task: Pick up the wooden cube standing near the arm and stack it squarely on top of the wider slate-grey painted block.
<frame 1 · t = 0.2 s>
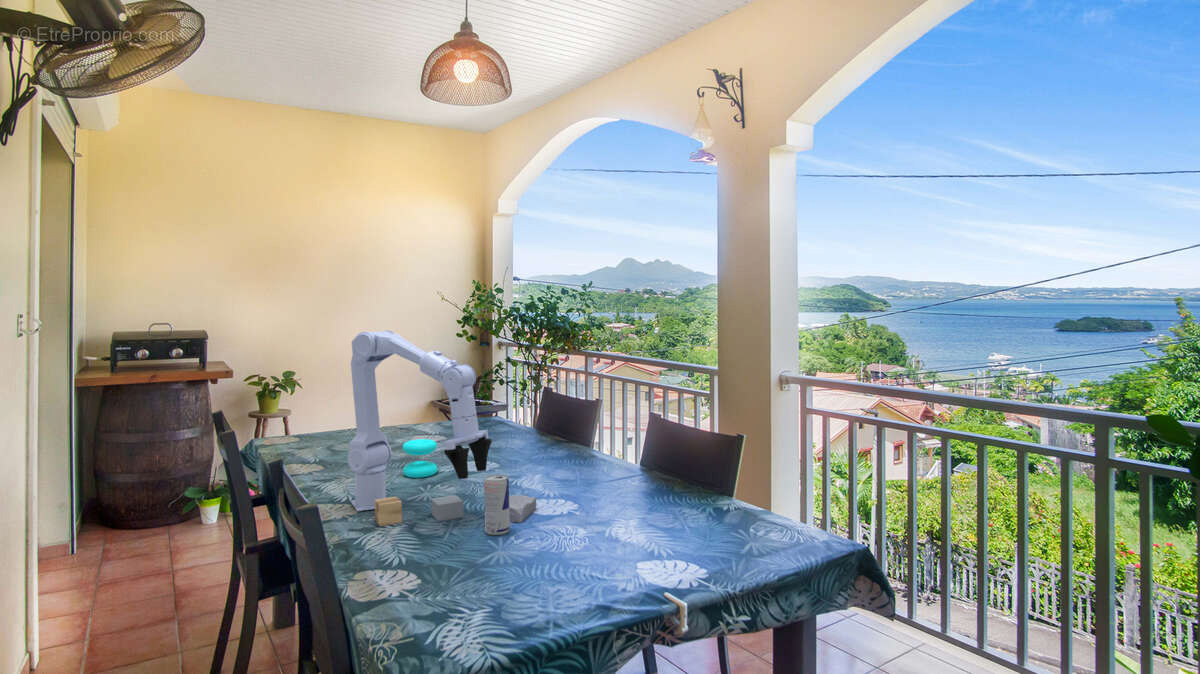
hand: (472, 474, 149), 11 cm above the table, tool pointing down, fingers open, 7 cm apart
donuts: (420, 475, 192), on the table
wooden cube: (388, 521, 148), on the table
stone block: (510, 516, 153), on the table
grey block: (447, 516, 152), on the table
energy drink: (497, 532, 141), on the table
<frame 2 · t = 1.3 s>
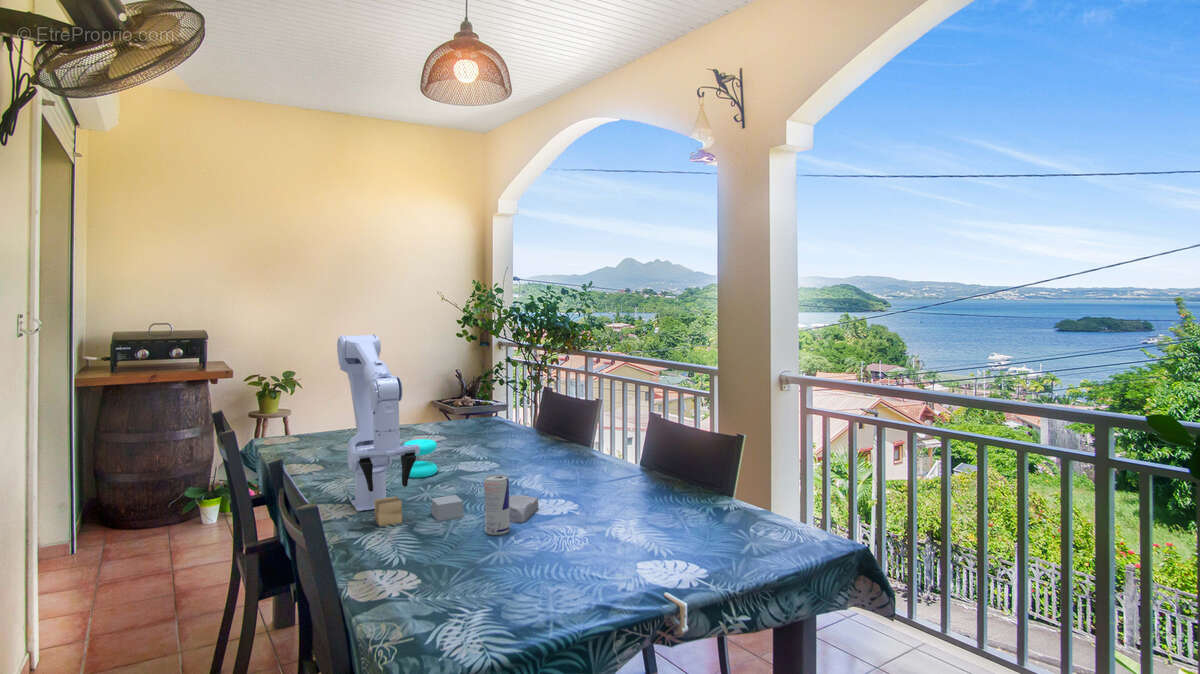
hand: (387, 488, 148), 8 cm above the table, tool pointing down, fingers open, 7 cm apart
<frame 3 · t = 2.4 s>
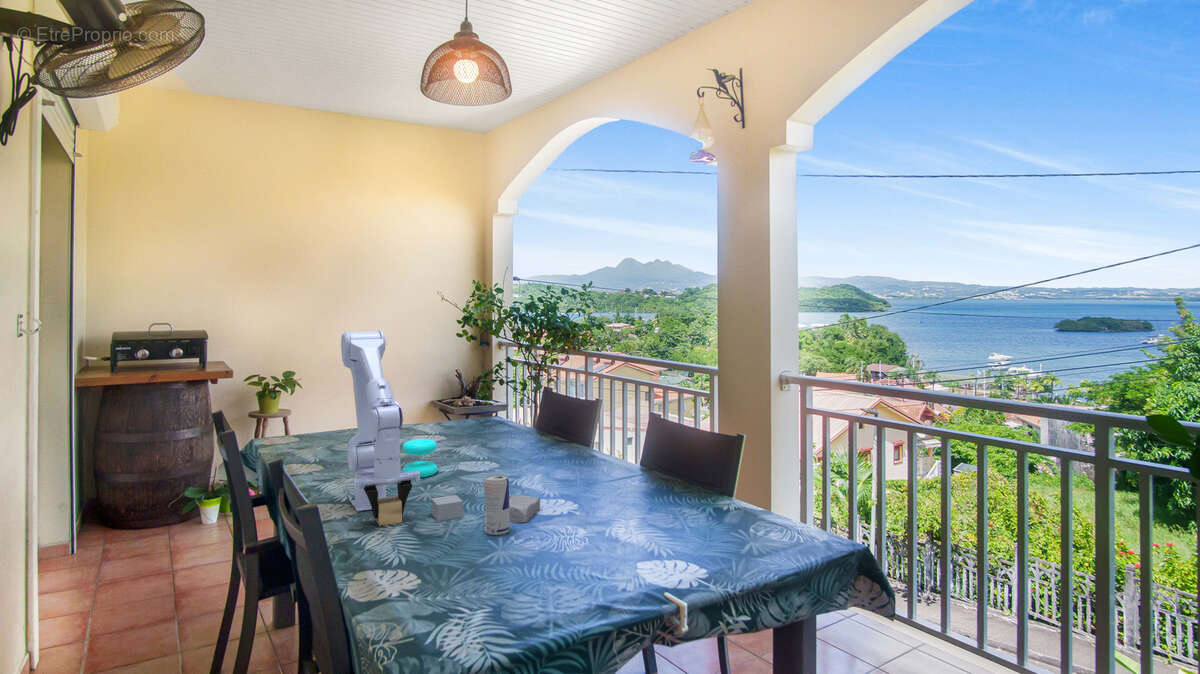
hand: (388, 515, 148), 1 cm above the table, tool pointing down, fingers closed on wooden cube, 5 cm apart
wooden cube: (388, 521, 148), on the table, touching gripper
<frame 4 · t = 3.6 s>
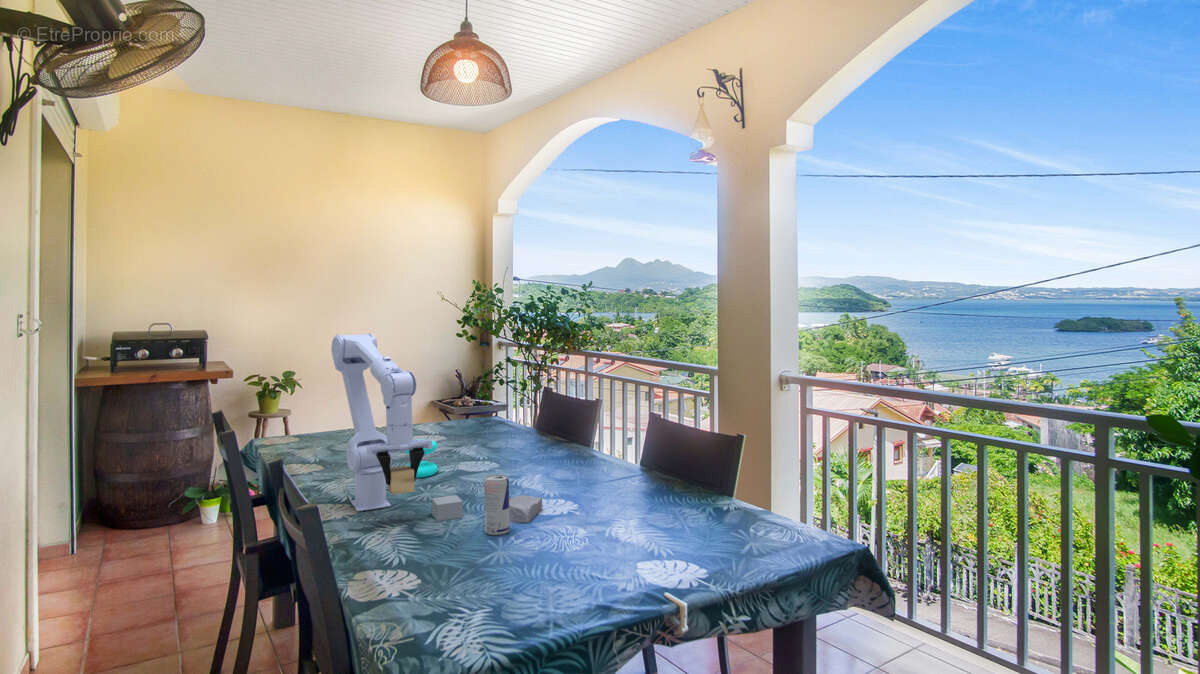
hand: (400, 482, 149), 9 cm above the table, tool pointing down, fingers closed on wooden cube, 5 cm apart
wooden cube: (400, 490, 149), point 7 cm above the table, touching gripper
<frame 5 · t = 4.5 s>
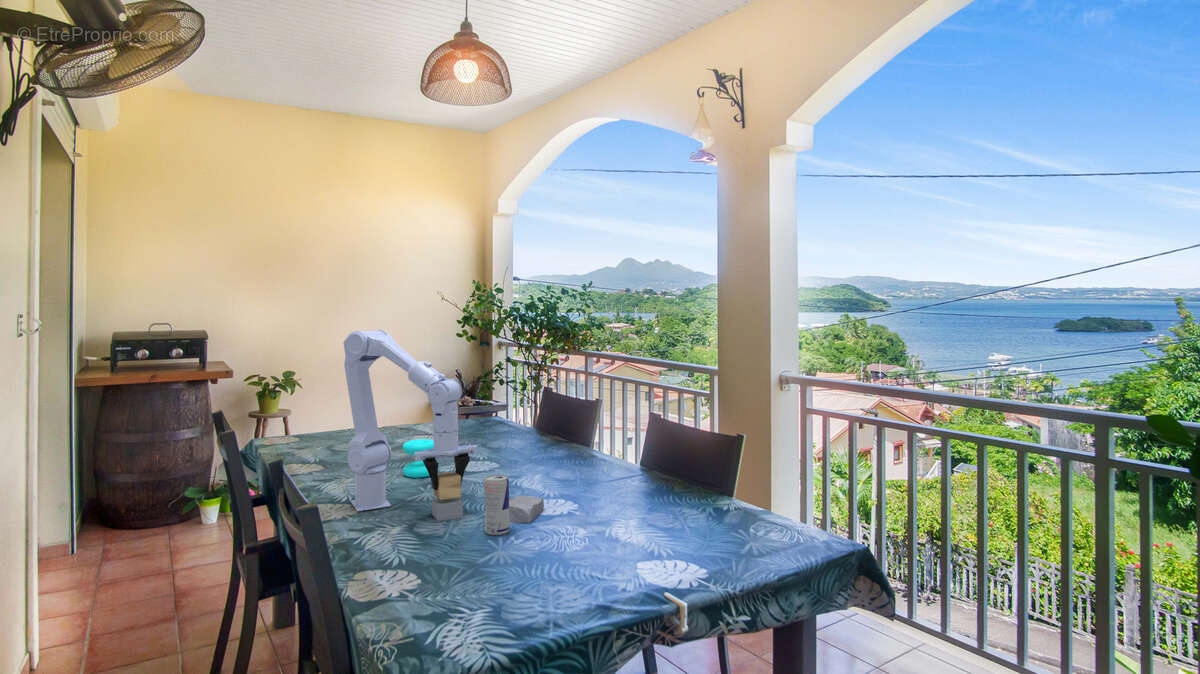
hand: (446, 487, 152), 7 cm above the table, tool pointing down, fingers closed on wooden cube, 5 cm apart
wooden cube: (447, 495, 152), point 5 cm above the table, touching gripper
when the fingers open (6 cm above the table, at t = 5.0 s): wooden cube stays where it is, resting on grey block.
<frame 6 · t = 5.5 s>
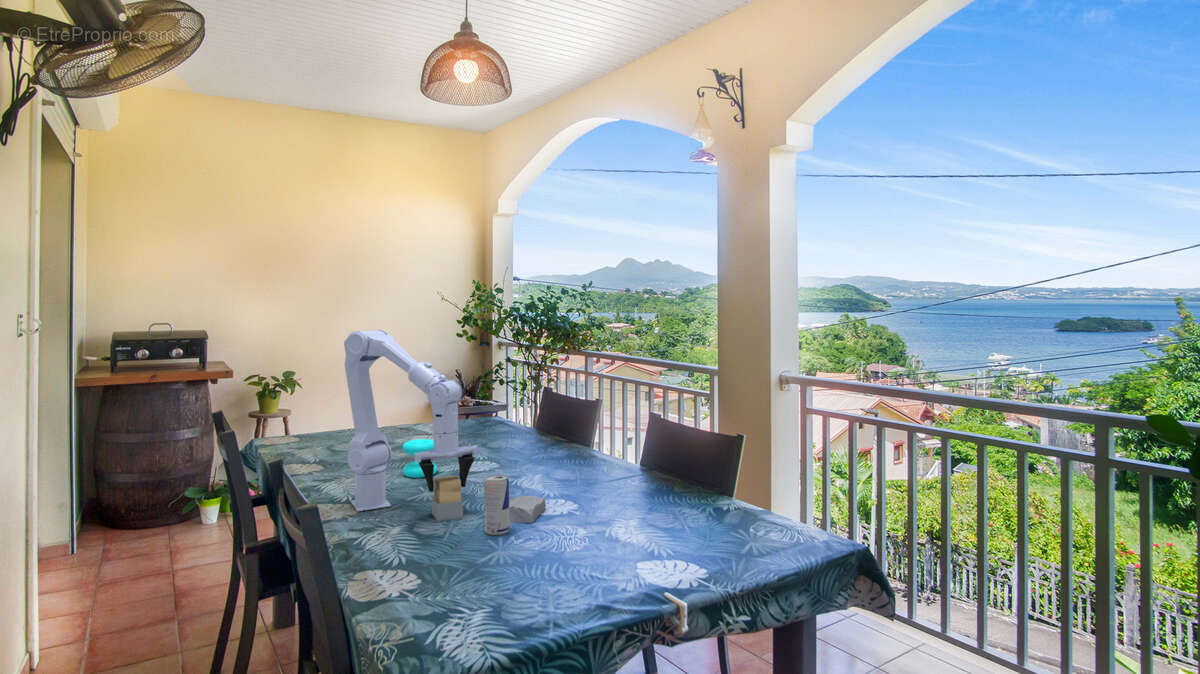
hand: (446, 488, 152), 7 cm above the table, tool pointing down, fingers open, 7 cm apart
wooden cube: (447, 499, 152), point 4 cm above the table, touching grey block
grey block: (447, 516, 152), on the table, touching wooden cube
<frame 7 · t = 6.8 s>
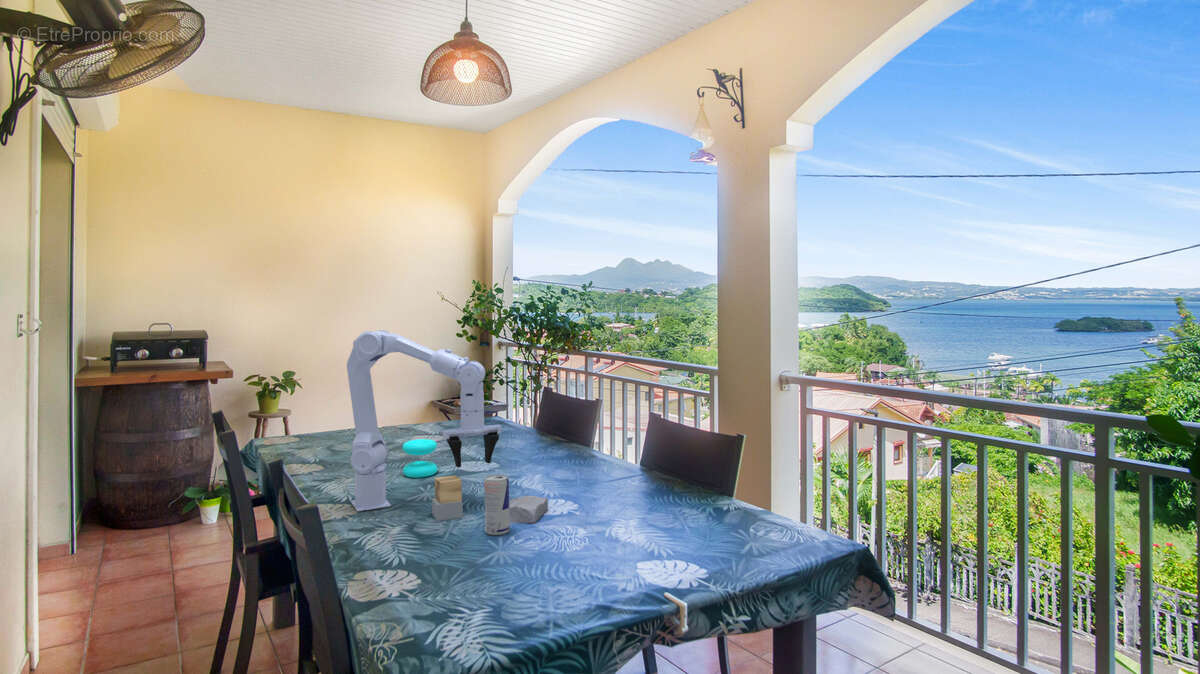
hand: (473, 464, 159), 10 cm above the table, tool pointing down, fingers open, 7 cm apart
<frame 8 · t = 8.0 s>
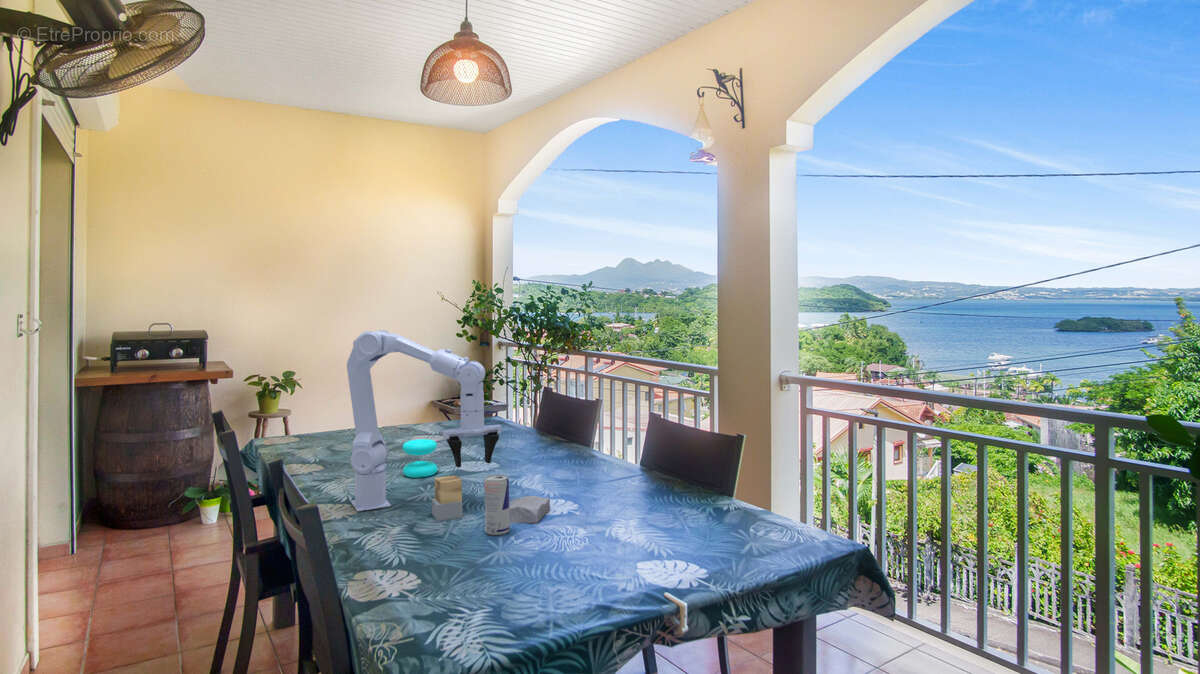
hand: (473, 464, 159), 10 cm above the table, tool pointing down, fingers open, 7 cm apart
wooden cube: (448, 499, 152), point 4 cm above the table
grey block: (447, 516, 152), on the table
at the end: wooden cube inside the target area on the grey block (0.4 cm from its centre), point 4.0 cm above the grey block's base; wooden cube tilted 0°; the gripper is holding nothing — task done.
